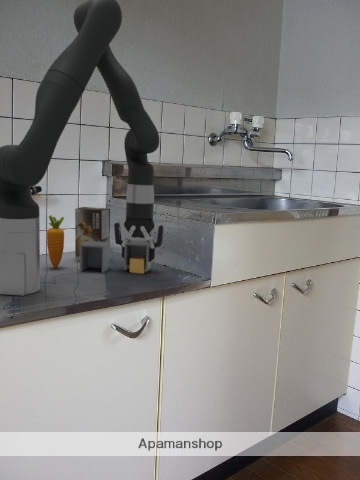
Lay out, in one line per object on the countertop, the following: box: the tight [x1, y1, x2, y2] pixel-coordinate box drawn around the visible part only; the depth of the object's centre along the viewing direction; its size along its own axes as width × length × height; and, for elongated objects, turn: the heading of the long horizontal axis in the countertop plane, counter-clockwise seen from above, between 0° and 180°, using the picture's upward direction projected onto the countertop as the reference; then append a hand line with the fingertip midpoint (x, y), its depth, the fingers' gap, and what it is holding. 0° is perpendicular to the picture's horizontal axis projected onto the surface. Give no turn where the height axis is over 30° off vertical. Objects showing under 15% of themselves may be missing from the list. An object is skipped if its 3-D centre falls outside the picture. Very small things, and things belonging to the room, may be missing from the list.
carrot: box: [46, 214, 65, 269], centre depth 137 cm, size 5×5×15 cm
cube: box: [129, 256, 147, 274], centre depth 138 cm, size 4×4×4 cm
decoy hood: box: [79, 241, 110, 274], centre depth 138 cm, size 6×6×8 cm
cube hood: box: [123, 239, 152, 272], centre depth 138 cm, size 6×6×8 cm
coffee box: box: [74, 206, 111, 262], centre depth 149 cm, size 9×6×16 cm
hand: (138, 260), depth 138 cm, fingers closed on cube hood, 6 cm apart
